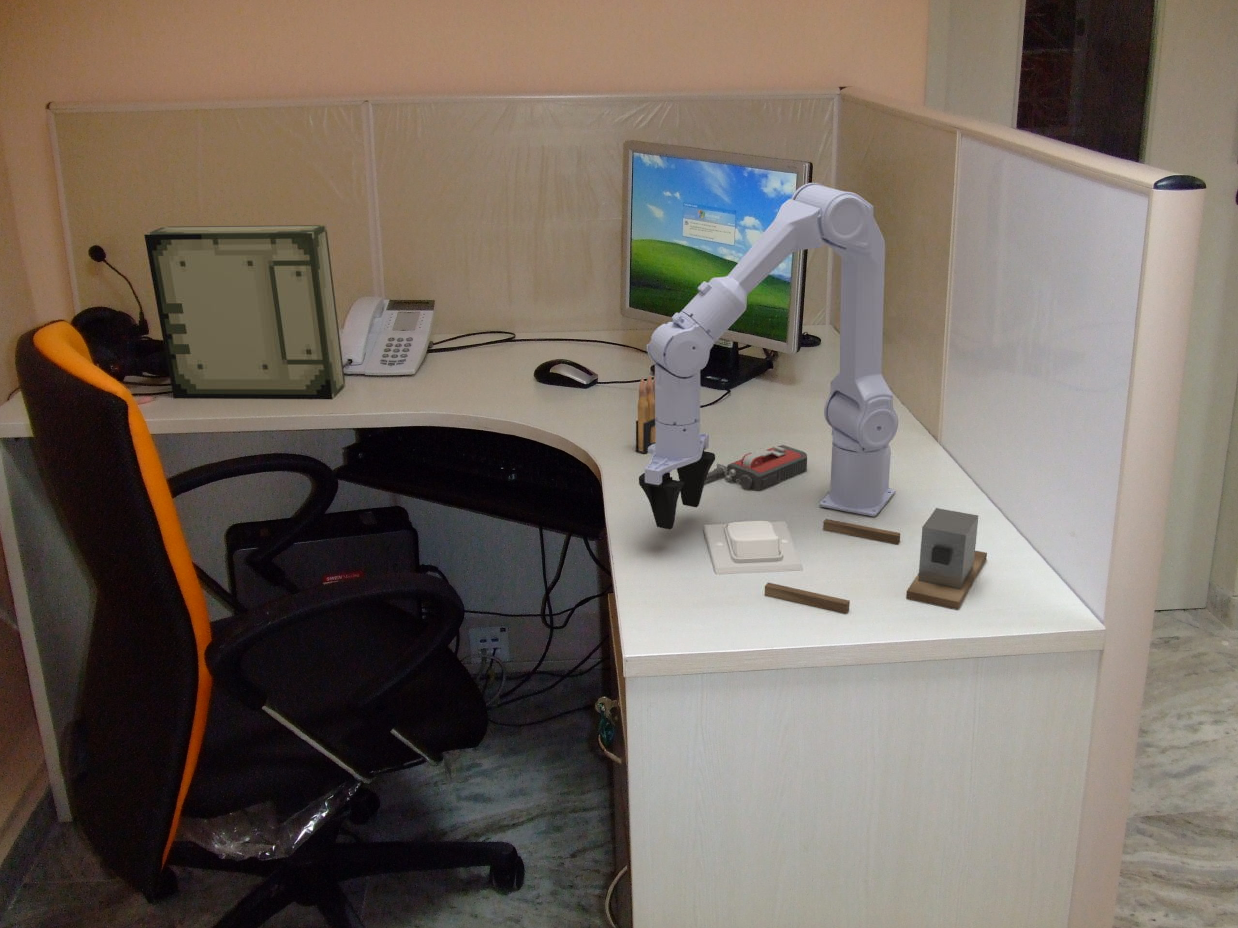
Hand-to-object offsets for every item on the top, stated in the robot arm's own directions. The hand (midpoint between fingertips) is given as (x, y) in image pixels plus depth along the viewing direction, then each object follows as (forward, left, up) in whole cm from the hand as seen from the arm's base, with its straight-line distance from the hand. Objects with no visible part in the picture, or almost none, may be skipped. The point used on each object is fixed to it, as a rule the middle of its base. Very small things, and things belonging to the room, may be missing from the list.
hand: (678, 516), depth 151 cm
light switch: (0, +10, -4) cm, 11 cm away
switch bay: (0, +22, -3) cm, 22 cm away
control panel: (-21, -97, -3) cm, 99 cm away
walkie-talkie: (-21, +1, -3) cm, 22 cm away
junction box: (-2, +35, -2) cm, 35 cm away
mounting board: (-3, +35, -3) cm, 35 cm away
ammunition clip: (-29, -17, -3) cm, 34 cm away
